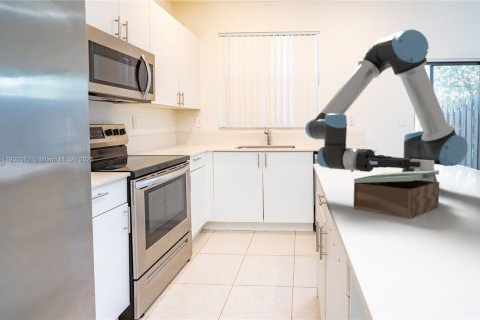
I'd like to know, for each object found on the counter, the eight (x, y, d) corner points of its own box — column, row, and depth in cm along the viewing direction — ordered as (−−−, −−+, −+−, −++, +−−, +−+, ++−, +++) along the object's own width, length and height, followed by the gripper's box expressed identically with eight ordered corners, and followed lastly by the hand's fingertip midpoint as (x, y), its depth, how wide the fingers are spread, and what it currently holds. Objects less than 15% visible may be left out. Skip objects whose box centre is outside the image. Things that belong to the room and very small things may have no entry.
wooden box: (384, 199, 140) (385, 176, 139) (438, 207, 127) (439, 181, 126) (353, 208, 125) (354, 183, 124) (410, 218, 112) (412, 189, 112)
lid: (385, 176, 139) (384, 172, 139) (444, 173, 125) (444, 170, 125) (354, 182, 124) (353, 179, 124) (417, 180, 110) (417, 176, 110)
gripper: (369, 169, 139) (440, 175, 122) (349, 172, 130) (423, 180, 113) (369, 147, 138) (441, 151, 121) (350, 149, 129) (425, 153, 112)
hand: (433, 165), depth 117 cm, fingers closed
